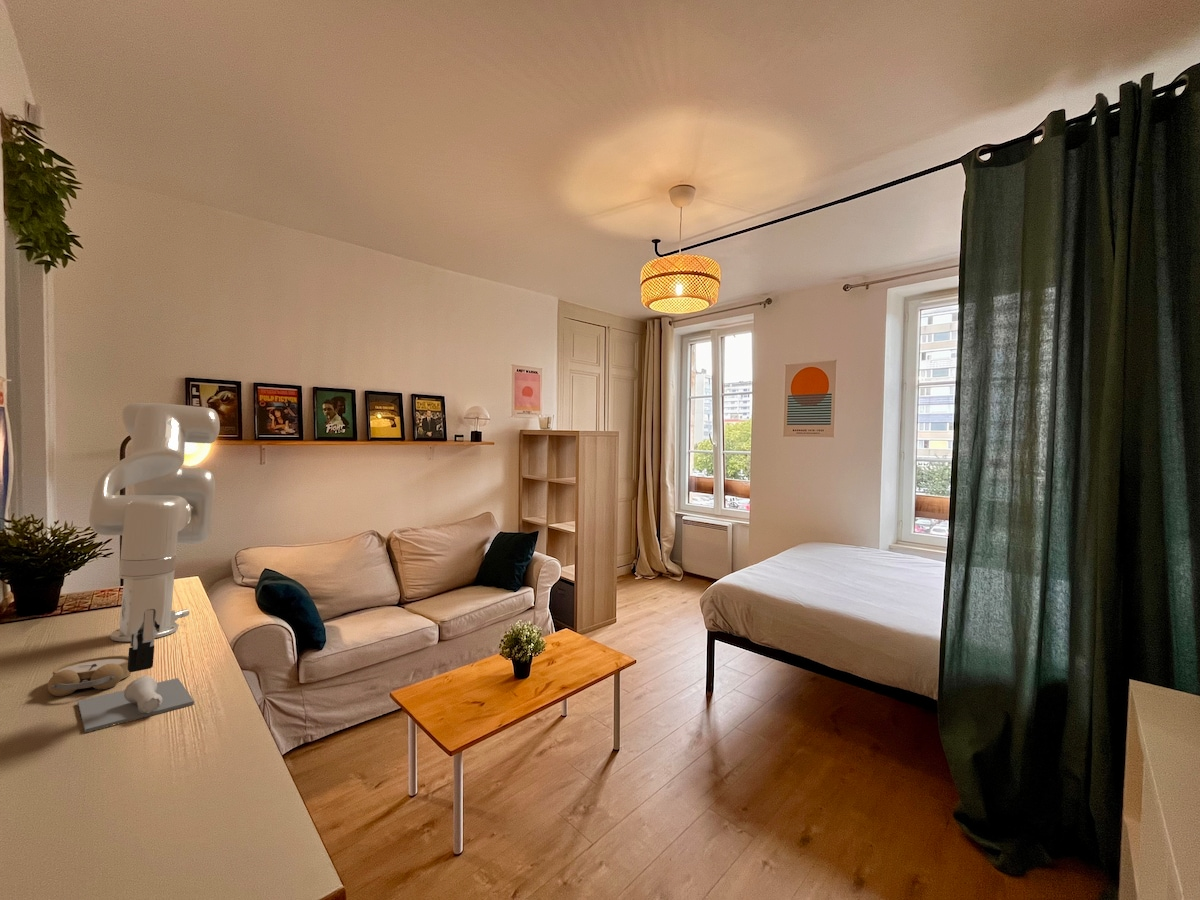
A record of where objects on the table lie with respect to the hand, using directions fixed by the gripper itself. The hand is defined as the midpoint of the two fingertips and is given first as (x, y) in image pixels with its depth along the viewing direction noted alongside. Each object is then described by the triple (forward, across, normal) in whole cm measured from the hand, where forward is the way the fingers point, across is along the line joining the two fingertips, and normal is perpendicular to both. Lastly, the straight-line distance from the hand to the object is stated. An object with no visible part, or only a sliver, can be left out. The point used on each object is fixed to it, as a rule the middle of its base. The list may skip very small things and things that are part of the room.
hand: (140, 668), depth 89 cm
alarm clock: (+7, -18, -5) cm, 20 cm away
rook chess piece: (+4, -2, 0) cm, 4 cm away
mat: (+7, -2, 0) cm, 7 cm away
